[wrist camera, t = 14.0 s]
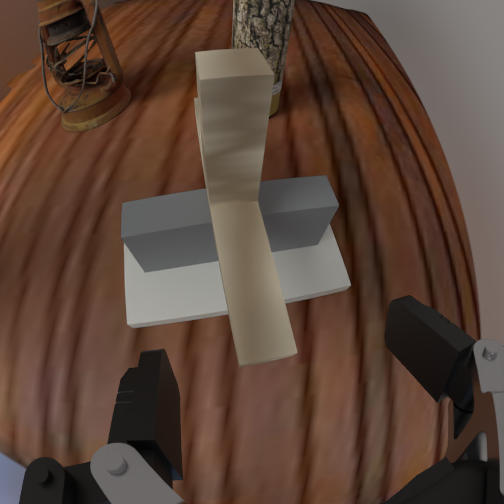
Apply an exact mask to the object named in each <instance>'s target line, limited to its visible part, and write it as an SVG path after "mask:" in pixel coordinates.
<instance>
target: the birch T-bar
mask: <svg viewBox="0 0 504 504" xmlns="http://www.w3.org/2000/svg"><path fill="white" fill-rule="evenodd" d="M195 57H196V74H197V89H198V98H194V103H195V114H196V122H197V129H198V136H199V144H200V151H201V157H202V164H203V171H204V177H205V184H206V190H207V197H208V203H209V209H210V215H211V221H212V227H213V233H214V239H215V244H216V250H217V256H218V261H219V267H220V272H221V278H222V283H223V288H224V293H225V299H226V304H227V309H228V314H229V319H230V324H231V329H232V334H233V339H234V344H235V348H236V353H237V358H238V363H239V367H244V366H249V365H254V364H259V363H264V362H268V361H273V360H277V359H282V358H286V357H290V356H292V355H294V354H296V353H297V349H296V345H295V341H294V337H293V333H292V329H291V325H290V321H289V317H288V313H287V309H286V305H285V301H284V297H283V294H282V290H281V286H280V282H279V278H278V274H277V271H276V267H275V263H274V259H273V256H272V252H271V248H270V244H269V241H268V237H267V233H266V230H265V226H264V222H263V218H262V215H261V211H260V208H259V204H258V194H259V187H260V180H261V172H262V165H263V157H264V150H265V142H266V135H267V128H268V120H269V113H270V105H271V98H272V91H273V83H274V76H275V75H274V73H273V71H272V70H271V68H270V66H269V65H268V63H267V62H266V60H265V58H264V57H263V55H262V54H261V52H260V50H259V49H258V48H241V49H223V50H211V51H201V52H195Z"/></svg>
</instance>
